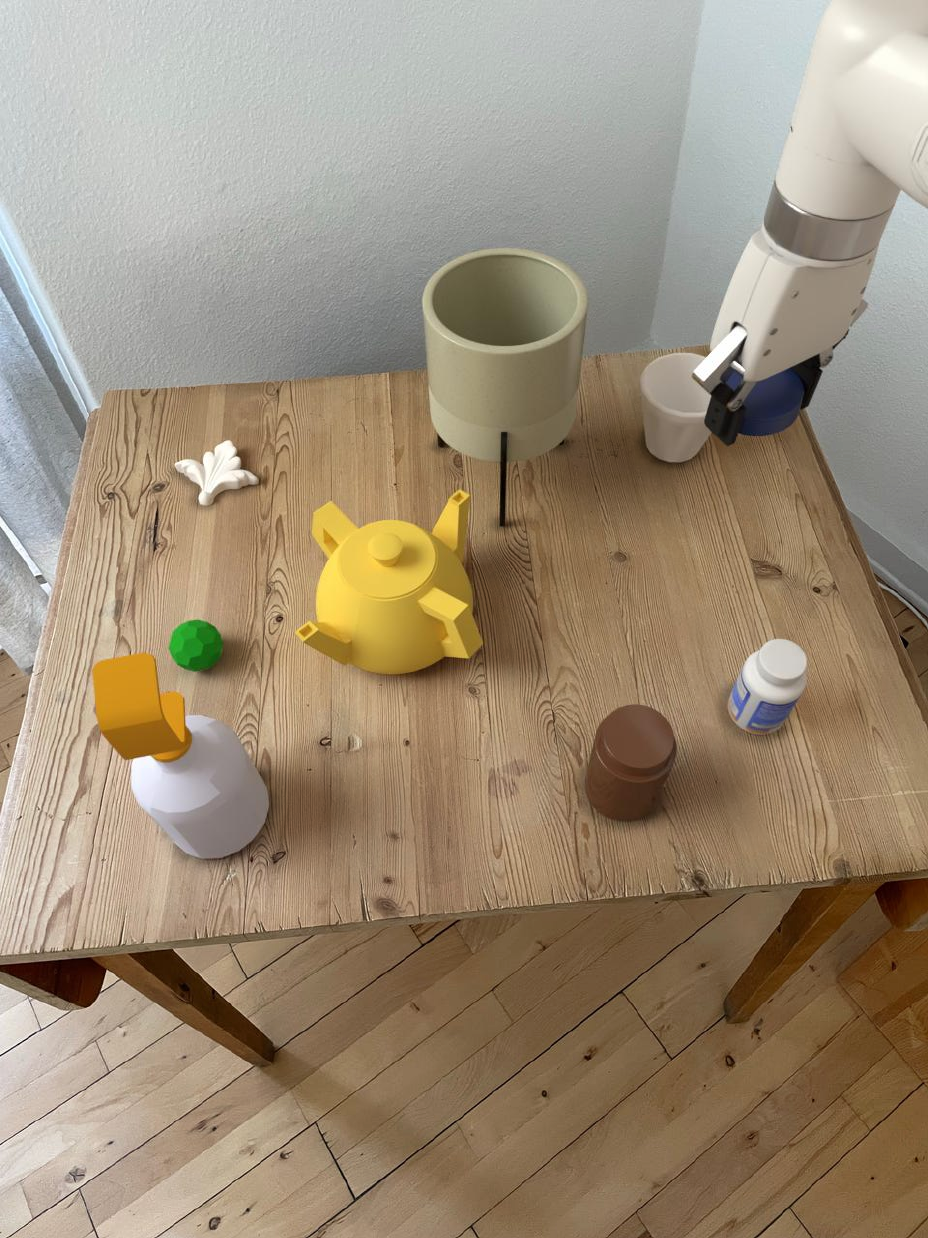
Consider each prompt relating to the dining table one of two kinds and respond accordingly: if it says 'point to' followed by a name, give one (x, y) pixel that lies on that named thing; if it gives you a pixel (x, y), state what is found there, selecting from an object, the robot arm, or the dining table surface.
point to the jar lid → (770, 403)
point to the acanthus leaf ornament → (217, 472)
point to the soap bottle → (179, 760)
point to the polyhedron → (195, 645)
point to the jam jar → (630, 762)
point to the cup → (674, 407)
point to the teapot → (393, 592)
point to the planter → (504, 354)
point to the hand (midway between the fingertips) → (755, 414)
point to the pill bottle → (768, 687)
